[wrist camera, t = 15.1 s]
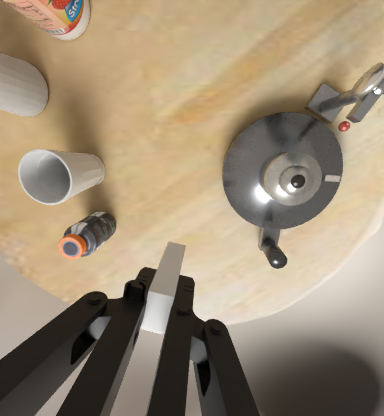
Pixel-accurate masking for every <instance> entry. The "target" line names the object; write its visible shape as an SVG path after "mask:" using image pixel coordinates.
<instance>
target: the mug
mask: <svg viewBox="0 0 384 416" xmlns="http://www.w3.org/2000/svg"><path fill="white" fill-rule="evenodd" d="M47 100H48V88H47V84H46V81H45V79H44V77H43V76H42V74H41V73H40V72H39V70H38V69H36V68H35V67H34V66H33V65H31V64H30V63H28V62H26V61H24V60H21V59H18V58H15V57H11V56H8V55H6V54H4V53H1V52H0V110H4V111H7V112H10V113H13V114H16V115H20V116H25V117H29V116H35V115H37V114H39V113H40V112H41V111H43V110H44V108H45V106H46V104H47Z"/></svg>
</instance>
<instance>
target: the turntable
mask: <svg viewBox="0 0 384 416" xmlns="http://www.w3.org/2000/svg"><path fill="white" fill-rule="evenodd" d="M280 152H299V153H305V154H308V155H310V156H311V157H313V158H314V159H315V160H316V161H317V162H318V164H319V166H320V168H321V172H322V180H321V184H320V187H319V189H318V191H317V192H316V193H315V195H314V196H313V197H312V198H311V199H309V200H308V201H306V202H304V203H302V204H299V205H294V206H288V205H283V204H280V203H278V202H277V201H275V200H274V199H273V198H271V197H270V196H269V195H267V194H266V193H265V192H264V191H263V190H262V188H261V186H260V183H259V172H260V169H261V167H262V165H263V163H264V162H265V161H266V160H267V159H268V158H269V157H271V156H272V155H274V154H276V153H280ZM342 172H343V159H342V153H341V149H340V146H339V143H338V141H337V139H336V138H335V136H334V134H333V133H332V132H331V131H330V129H329V128H328V127H327V126H325V125H324V124H323V123H322V122H320V121H319V120H317V119H315V118H313V117H311V116H309V115H305V114H302V113H295V112H283V113H276V114H273V115H269V116H266V117H264V118H262V119H259V120H258V121H256V122H254V123H253V124H251V125H249V126H248V127H247V128H246V129H244V130H243V131H242V132H241V133H240V134H239V135H238V136H237V137H236V139H235V140H234V141H233V143H232V144H231V146H230V148H229V150H228V152H227V154H226V157H225V160H224V164H223V172H222V179H223V186H224V191H225V193H226V196H227V198H228V200H229V202H230V204H231V206H232V207H233V208H234V210H235V211H236V212H237V213H238V214H239V215H240V216H241V217H242V218H244V219H245V220H246V221H248V222H250V223H252V224H254V225H256V226H259V227H261V231H260V238H259V244H258V247H259V249H260V250H261V251H263V252H264V254H265V255H266V257H267V259H268V261H269V263H270V264H271V266H272V267H274V268H277V269H279V268H282V267H284V266H285V265H286V264H287V257H286V256H285V255H284V253H283V252H282V251H281V249H280V248H279V246H278V239H279V234H280V229H287V228H291V227H295V226H298V225H301V224H303V223H305V222H307V221H309V220H311V219H312V218H314V217H315V216H317V215H318V214H319V213H320V212H321V211H322V210H323V209H324V208H325V207H326V206H327V205H328V204H329V203H330V201H331V200H332V198H333V197H334V195H335V194H336V191H337V189H338V187H339V184H340V181H341V177H342Z"/></svg>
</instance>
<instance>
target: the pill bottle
mask: <svg viewBox="0 0 384 416" xmlns="http://www.w3.org/2000/svg"><path fill="white" fill-rule="evenodd" d="M115 230H116V222H115V220H114V219H113V217H112V216H111V215H110V214H108V213H106V212H102V211H99V212H95V213H93V214H91V215H90V216H88V217H86V218H85V219H83V220H81V221H79V222H78V223H76V224H74V225H72V226H71V227H69V228H68V229H67V230H66V231H65V233H64V237H63V238H62V239H61V240H60V242H59V250H60V252H61V254H62V255H63V256H65V257H66V258H69V259H77V258H79V257H80V256H81V257H83V256H88V255H90V254H92V253H93V252H94V251H95V250H97V249H98V248H99V247H100V246H101V245H102V244H103V243H104V242H105V241H106V240H108V239H109V238H110V237H111V236H112V235H113V234H114V232H115Z"/></svg>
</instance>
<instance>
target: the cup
mask: <svg viewBox="0 0 384 416" xmlns="http://www.w3.org/2000/svg"><path fill="white" fill-rule="evenodd" d="M18 177H19V181H20V183H21V186H22V187H23V189H24V191H25V192H26V193H27V194H28V195H29V196H30V197H31V198H32V199H34V200H35V201H37V202H39V203H42V204H46V205H55V204H59V203H61V202H63V201H65V200H67V199H69V198H71V197H73V196H74V195H76V194H78V193H80V192H83V191H85V190H87V189H89V188H91V187H93V186H95V185H98V184H100V183H101V182H102V181H103V179H104V177H105V167H104V164H103V162H102V161H101V160H100V159H99V158H98V157H97V156H95V155H93V154H89V153H74V152H64V151H55V150H46V149H35V150H31V151H29V152H27V153H26V154H25V155H24V156H23V157H22V159H21V160H20V163H19V166H18Z"/></svg>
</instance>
